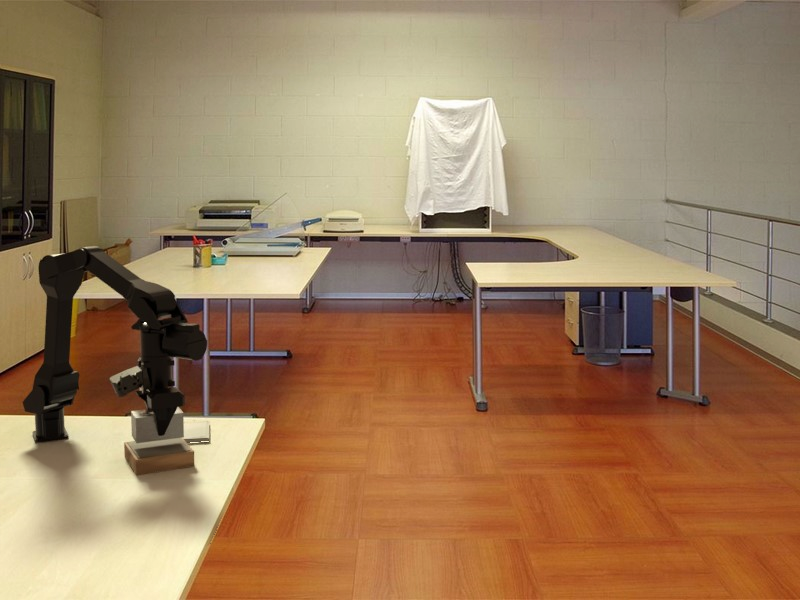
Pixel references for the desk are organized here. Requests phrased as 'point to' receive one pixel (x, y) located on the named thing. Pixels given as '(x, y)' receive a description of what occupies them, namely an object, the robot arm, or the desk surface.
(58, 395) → the robot arm
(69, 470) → the desk surface
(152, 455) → the stand
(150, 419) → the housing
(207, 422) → the hard drive
